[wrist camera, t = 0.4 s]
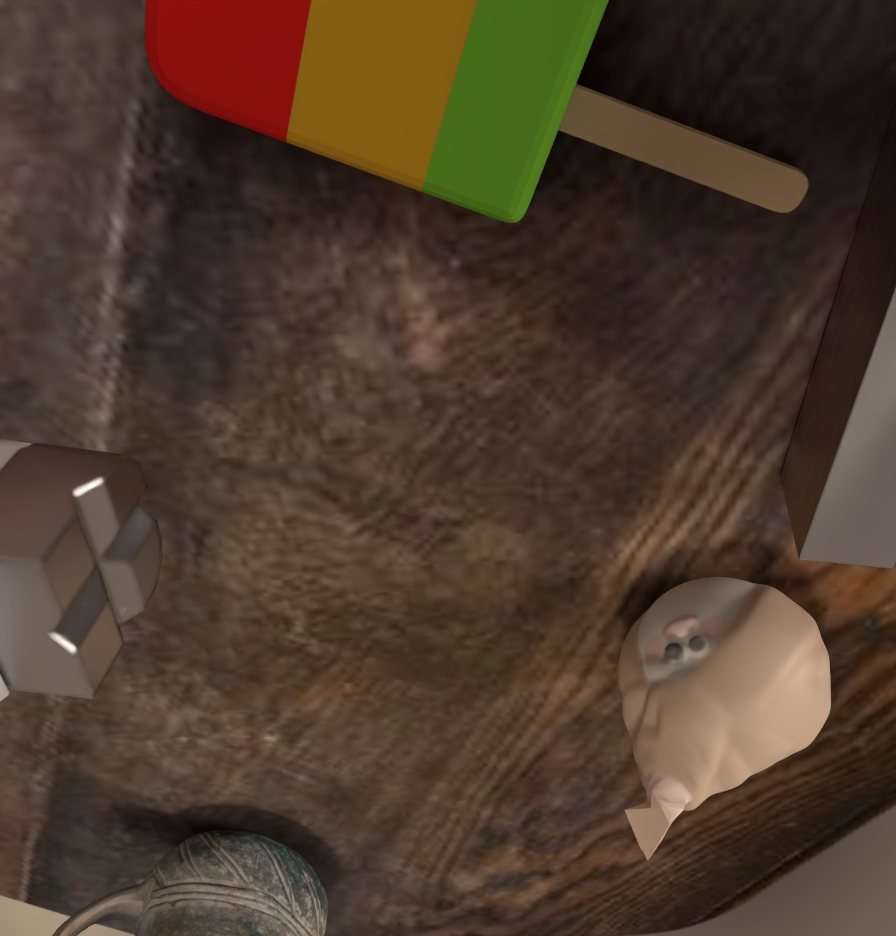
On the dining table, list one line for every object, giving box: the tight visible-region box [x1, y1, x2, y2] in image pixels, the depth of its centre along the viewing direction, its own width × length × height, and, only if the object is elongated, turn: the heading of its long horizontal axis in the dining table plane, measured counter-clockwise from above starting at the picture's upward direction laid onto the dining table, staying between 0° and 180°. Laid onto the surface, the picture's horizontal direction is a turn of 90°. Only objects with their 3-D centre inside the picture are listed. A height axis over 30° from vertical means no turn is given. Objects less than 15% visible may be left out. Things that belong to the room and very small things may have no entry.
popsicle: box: [145, 0, 808, 223], centre depth 19 cm, size 6×15×2 cm, turn 73°
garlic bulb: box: [618, 577, 831, 860], centre depth 26 cm, size 7×6×8 cm
